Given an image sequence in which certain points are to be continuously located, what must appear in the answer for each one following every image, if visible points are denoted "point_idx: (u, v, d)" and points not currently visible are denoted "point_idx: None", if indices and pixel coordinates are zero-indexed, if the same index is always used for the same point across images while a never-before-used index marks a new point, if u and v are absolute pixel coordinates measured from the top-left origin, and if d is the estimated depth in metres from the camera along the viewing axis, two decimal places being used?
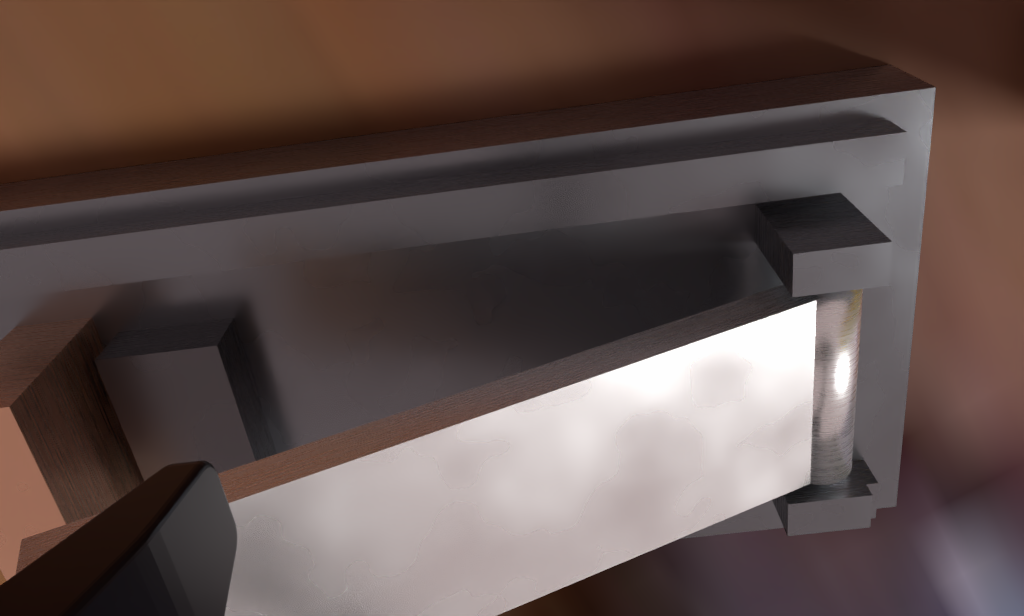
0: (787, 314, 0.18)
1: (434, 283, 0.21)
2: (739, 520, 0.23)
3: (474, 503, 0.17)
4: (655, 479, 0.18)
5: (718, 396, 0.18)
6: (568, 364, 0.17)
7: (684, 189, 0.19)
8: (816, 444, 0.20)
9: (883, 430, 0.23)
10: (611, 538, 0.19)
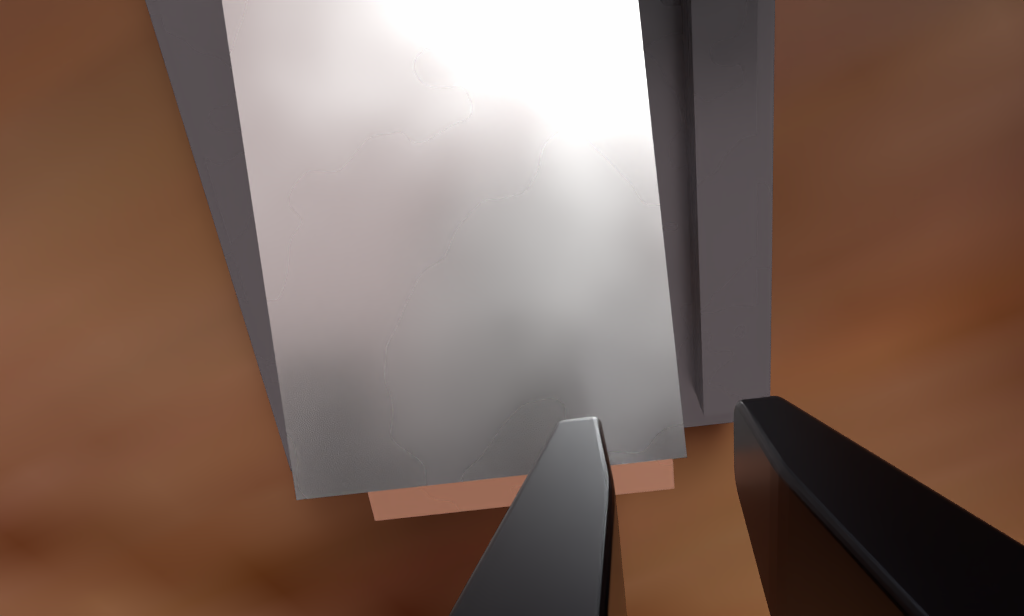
0: None
1: None
2: None
3: None
4: None
5: None
6: None
7: None
8: None
9: None
10: None
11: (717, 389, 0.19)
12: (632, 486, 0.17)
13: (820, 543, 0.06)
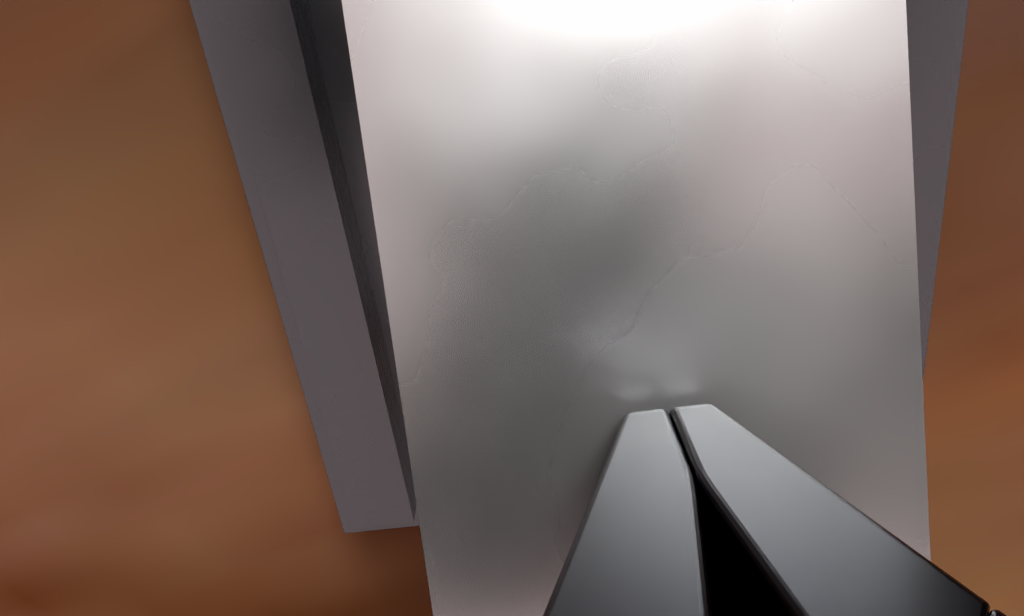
0: None
1: None
2: None
3: None
4: None
5: None
6: None
7: None
8: None
9: None
10: None
11: None
12: None
13: (732, 552, 0.06)
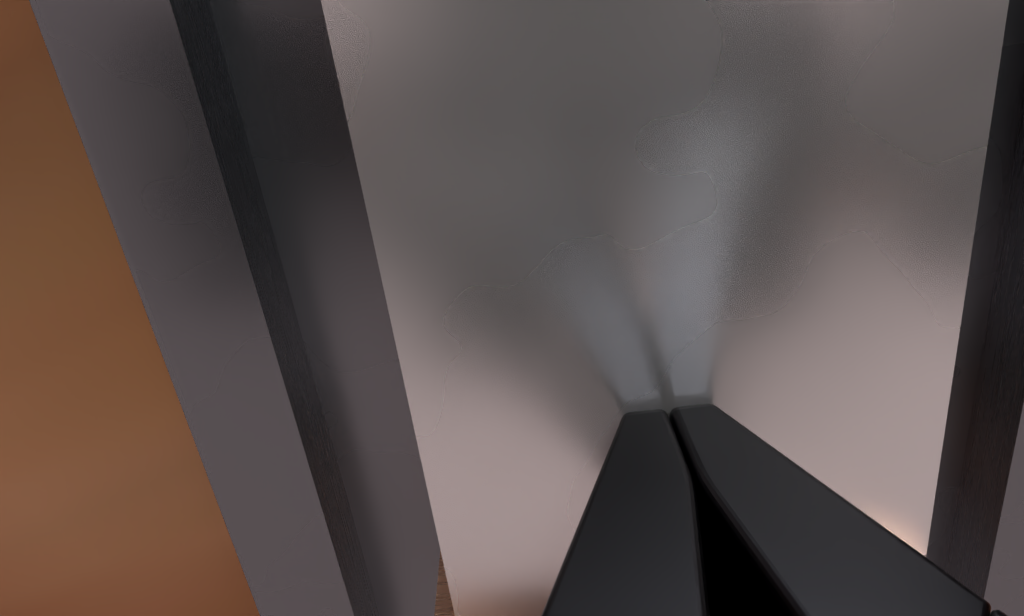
0: None
1: None
2: None
3: None
4: None
5: None
6: None
7: None
8: None
9: None
10: None
11: None
12: None
13: (733, 552, 0.06)
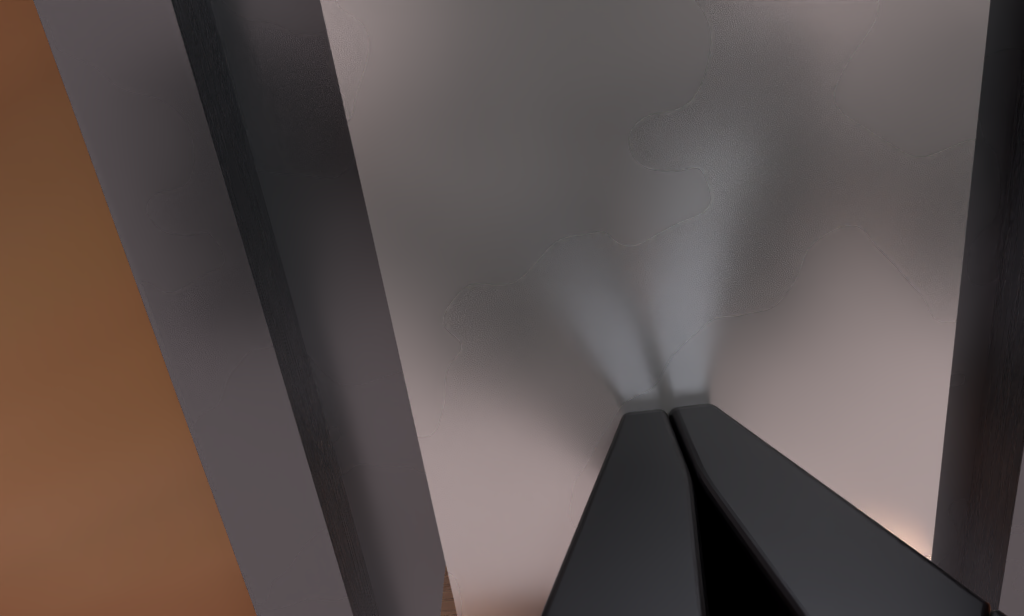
0: None
1: None
2: None
3: None
4: None
5: None
6: None
7: None
8: None
9: None
10: None
11: None
12: None
13: (732, 552, 0.06)
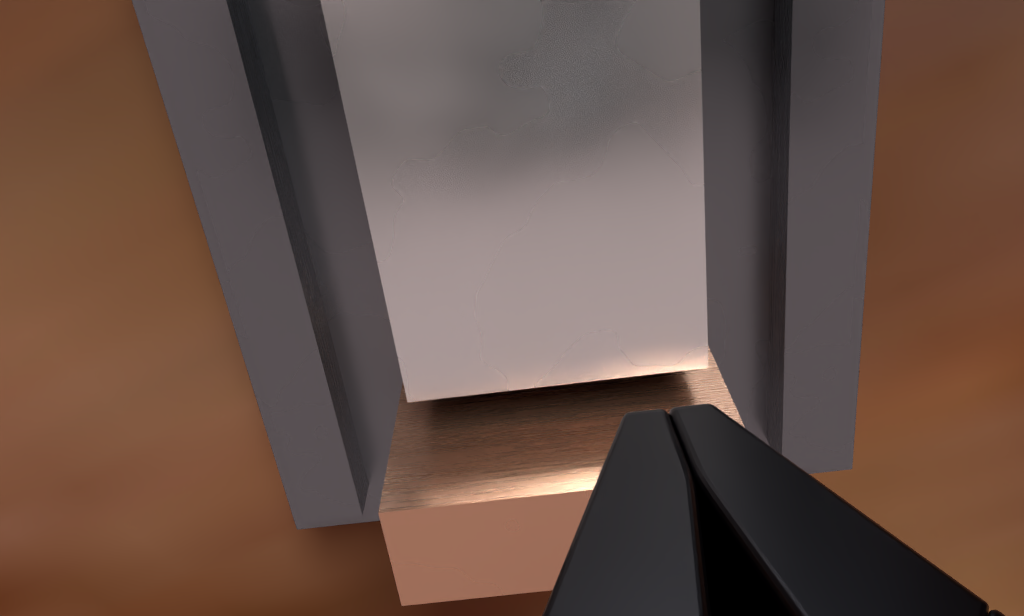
0: None
1: None
2: None
3: None
4: None
5: None
6: None
7: None
8: None
9: None
10: None
11: (799, 440, 0.16)
12: None
13: (731, 552, 0.06)
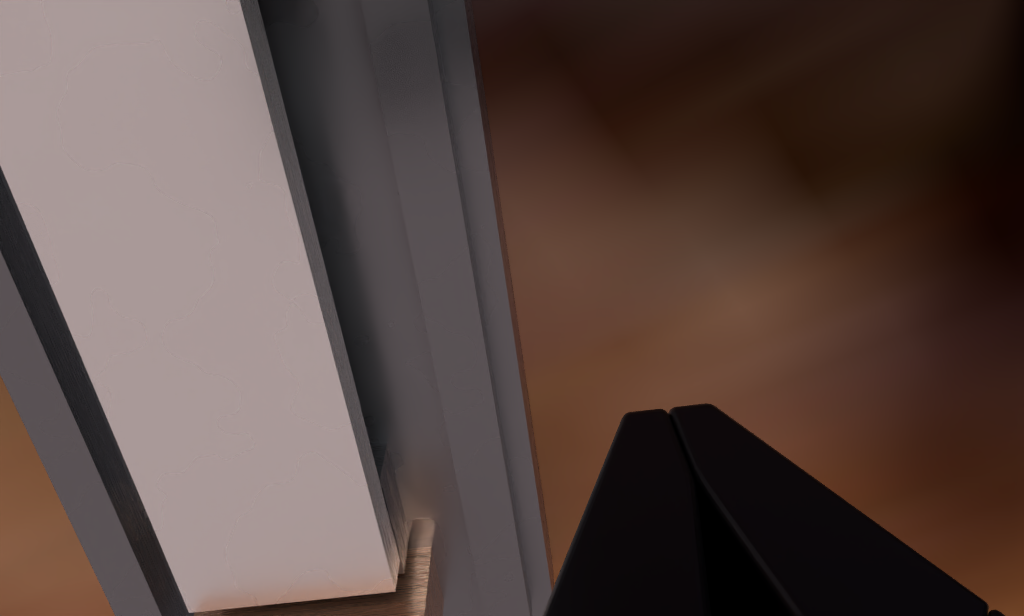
0: None
1: None
2: None
3: (165, 323, 0.17)
4: (157, 111, 0.15)
5: (34, 28, 0.14)
6: None
7: None
8: None
9: None
10: (237, 169, 0.15)
11: None
12: None
13: (731, 552, 0.06)
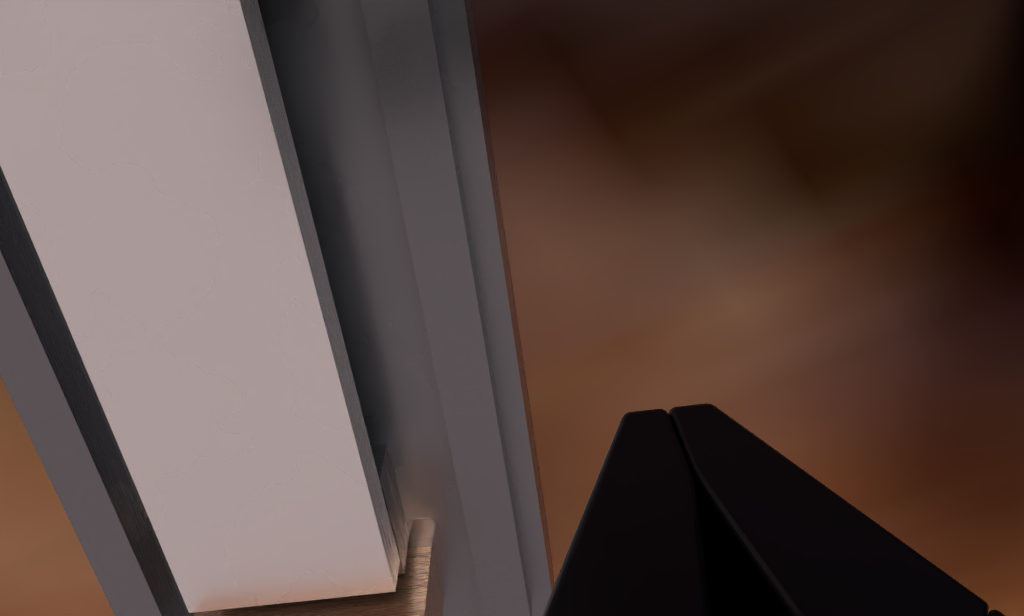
0: None
1: None
2: None
3: (165, 323, 0.17)
4: (157, 111, 0.15)
5: (34, 28, 0.14)
6: None
7: None
8: None
9: None
10: (237, 169, 0.15)
11: None
12: None
13: (731, 552, 0.06)
